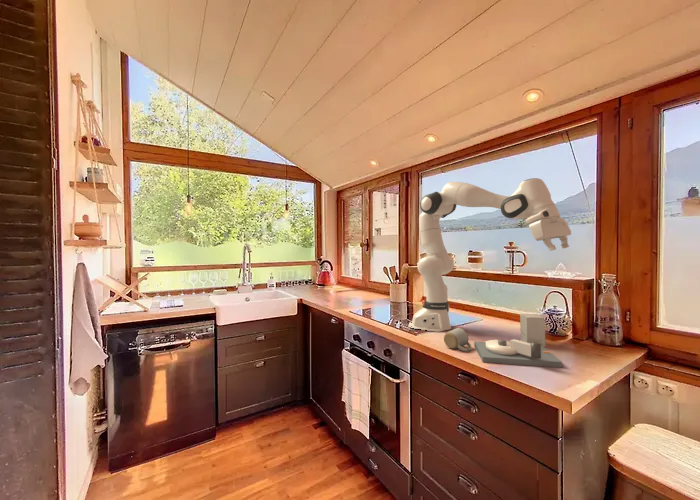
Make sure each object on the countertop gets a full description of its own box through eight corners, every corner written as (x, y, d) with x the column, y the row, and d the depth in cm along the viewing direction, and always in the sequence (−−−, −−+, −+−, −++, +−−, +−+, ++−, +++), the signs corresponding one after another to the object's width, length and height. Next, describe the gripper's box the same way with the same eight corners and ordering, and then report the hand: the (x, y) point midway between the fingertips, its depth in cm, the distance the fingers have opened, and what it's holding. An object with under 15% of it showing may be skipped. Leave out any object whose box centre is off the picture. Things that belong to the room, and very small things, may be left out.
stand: (482, 362, 108) (482, 356, 108) (474, 346, 126) (474, 340, 126) (562, 367, 102) (562, 361, 102) (541, 349, 119) (541, 344, 119)
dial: (479, 348, 117) (479, 333, 117) (497, 342, 123) (496, 328, 123) (531, 364, 99) (531, 347, 99) (549, 357, 106) (548, 341, 106)
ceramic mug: (442, 346, 126) (442, 329, 125) (453, 342, 130) (453, 326, 130) (464, 354, 117) (464, 335, 117) (475, 349, 122) (475, 331, 122)
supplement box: (545, 347, 122) (545, 317, 122) (526, 346, 123) (526, 317, 123) (538, 341, 129) (537, 313, 129) (520, 341, 131) (519, 313, 131)
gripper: (551, 218, 121) (564, 249, 117) (522, 220, 111) (536, 254, 107) (567, 211, 115) (582, 243, 112) (538, 213, 105) (554, 248, 102)
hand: (559, 249), depth 110 cm, fingers open, 8 cm apart
